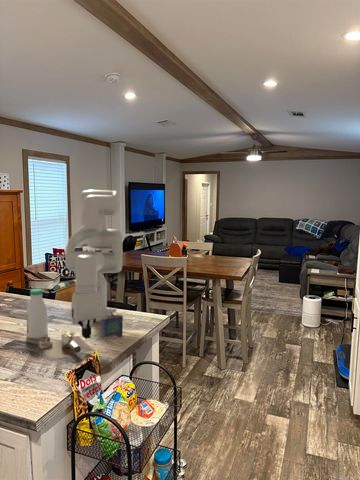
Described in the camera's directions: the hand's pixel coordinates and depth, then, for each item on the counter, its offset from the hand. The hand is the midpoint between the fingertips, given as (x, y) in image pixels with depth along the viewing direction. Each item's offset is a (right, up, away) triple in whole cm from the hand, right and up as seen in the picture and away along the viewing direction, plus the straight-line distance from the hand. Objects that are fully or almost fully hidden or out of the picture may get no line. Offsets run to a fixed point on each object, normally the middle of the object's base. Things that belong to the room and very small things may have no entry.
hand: (86, 337), depth 132 cm
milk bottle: (-23, -4, +13) cm, 27 cm away
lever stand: (-8, -6, +2) cm, 10 cm away
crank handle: (-5, -4, -1) cm, 7 cm away
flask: (+6, -5, +15) cm, 17 cm away
